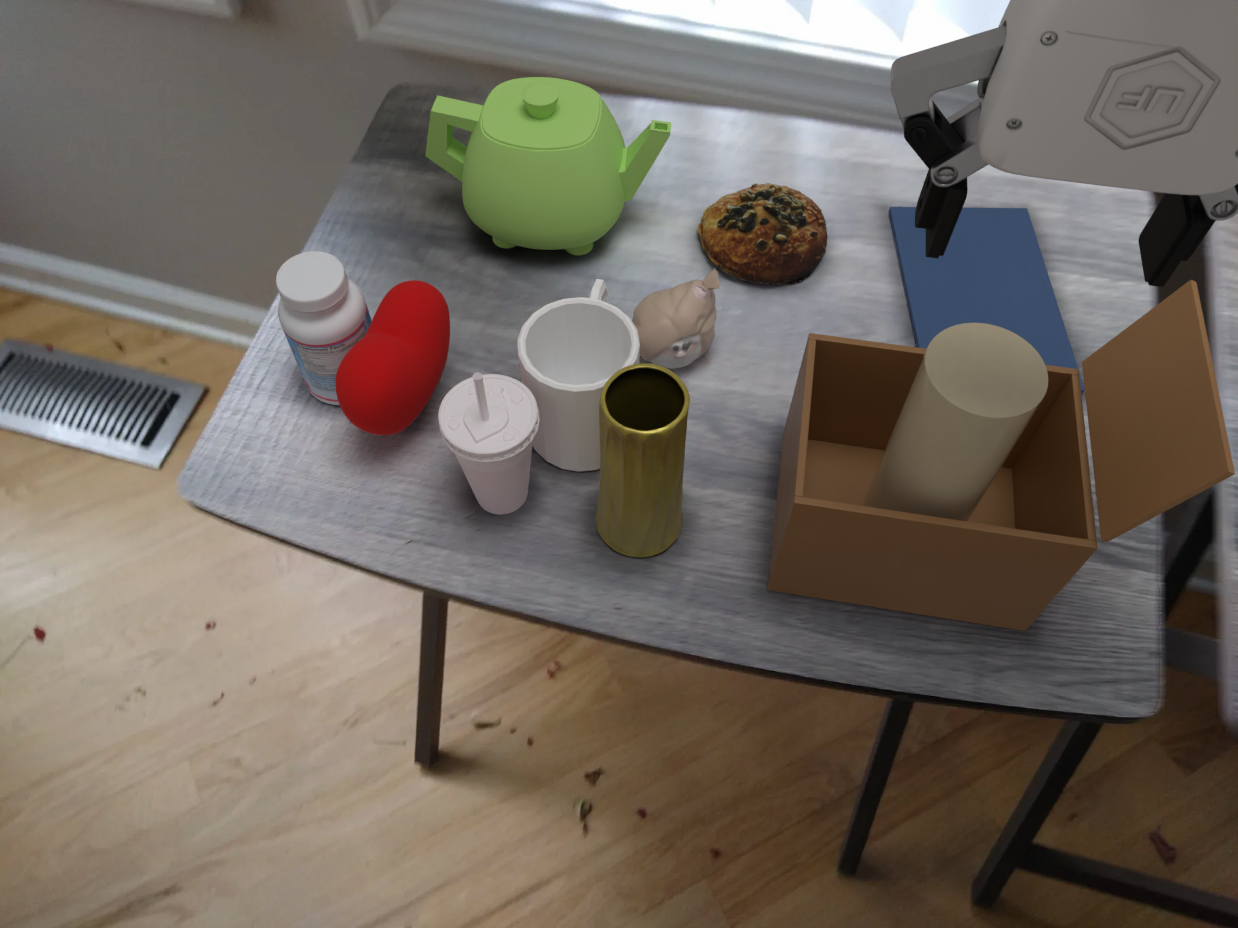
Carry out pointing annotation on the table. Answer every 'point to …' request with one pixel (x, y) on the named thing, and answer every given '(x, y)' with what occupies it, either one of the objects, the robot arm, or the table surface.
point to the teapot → (542, 162)
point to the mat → (982, 280)
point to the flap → (1155, 415)
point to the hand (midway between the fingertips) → (1039, 250)
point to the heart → (396, 360)
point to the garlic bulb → (677, 322)
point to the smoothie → (492, 437)
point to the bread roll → (765, 234)
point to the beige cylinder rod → (959, 422)
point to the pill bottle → (320, 317)
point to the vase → (641, 459)
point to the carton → (912, 543)
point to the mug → (574, 372)
